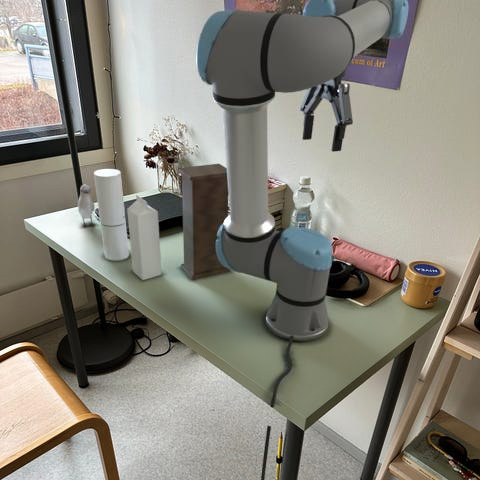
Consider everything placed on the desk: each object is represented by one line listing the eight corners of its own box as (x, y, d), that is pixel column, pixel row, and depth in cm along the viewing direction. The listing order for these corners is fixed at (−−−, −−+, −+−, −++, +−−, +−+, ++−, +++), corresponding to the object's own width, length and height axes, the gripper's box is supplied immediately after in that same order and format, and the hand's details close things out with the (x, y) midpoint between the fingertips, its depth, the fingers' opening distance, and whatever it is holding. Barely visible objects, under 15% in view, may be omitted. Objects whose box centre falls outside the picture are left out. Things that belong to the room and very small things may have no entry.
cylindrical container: (131, 251, 145) (124, 169, 131) (124, 261, 139) (115, 177, 125) (109, 249, 146) (99, 168, 132) (101, 259, 140) (89, 175, 126)
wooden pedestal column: (217, 260, 143) (219, 163, 126) (229, 271, 137) (233, 171, 121) (180, 268, 138) (177, 168, 121) (192, 280, 132) (190, 177, 116)
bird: (86, 234, 154) (79, 189, 146) (76, 219, 164) (69, 176, 155) (101, 231, 156) (95, 187, 148) (90, 217, 166) (84, 175, 158)
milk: (142, 280, 131) (135, 204, 118) (132, 271, 135) (125, 197, 122) (162, 274, 134) (157, 199, 121) (151, 266, 138) (146, 192, 125)
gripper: (376, 65, 113) (360, 154, 125) (315, 54, 131) (306, 134, 143) (353, 65, 110) (338, 157, 122) (292, 54, 128) (285, 135, 140)
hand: (320, 145), depth 133 cm, fingers open, 13 cm apart
